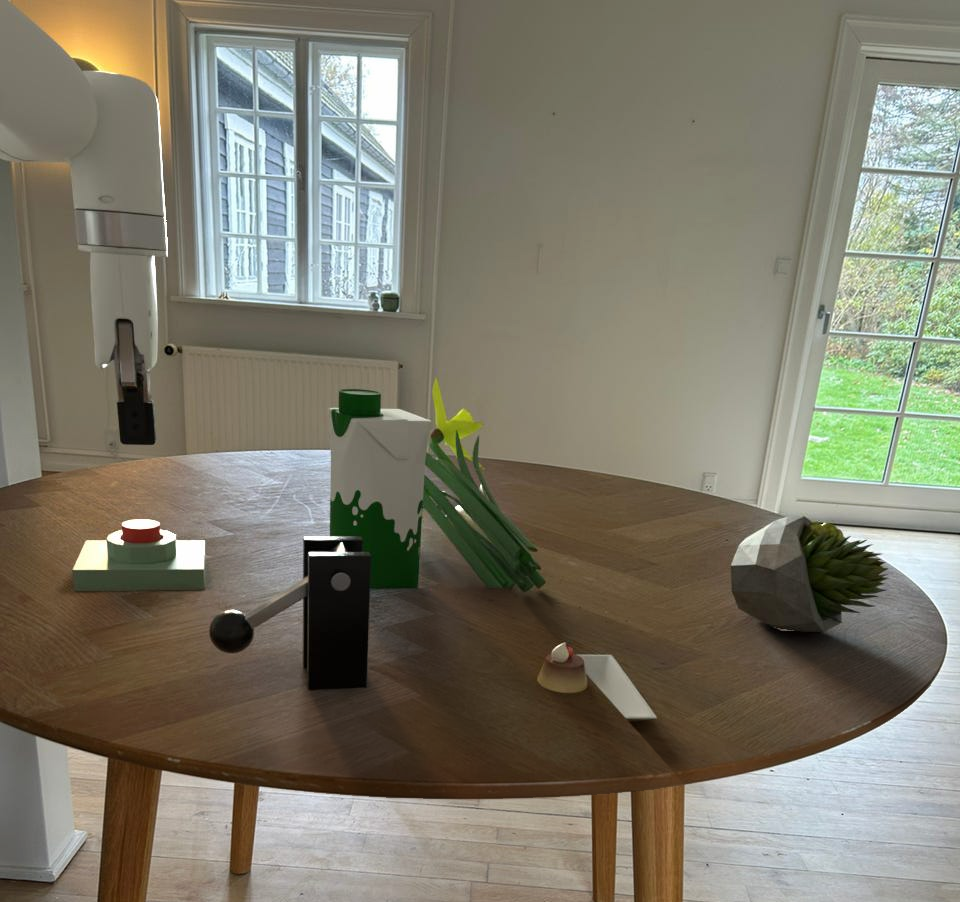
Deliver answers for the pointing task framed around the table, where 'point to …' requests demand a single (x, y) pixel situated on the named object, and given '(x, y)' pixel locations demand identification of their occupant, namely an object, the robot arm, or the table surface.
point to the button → (141, 531)
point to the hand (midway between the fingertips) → (138, 442)
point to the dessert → (570, 676)
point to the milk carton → (378, 484)
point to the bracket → (336, 613)
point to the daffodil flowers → (474, 509)
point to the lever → (255, 616)
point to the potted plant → (803, 575)
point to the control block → (140, 564)
